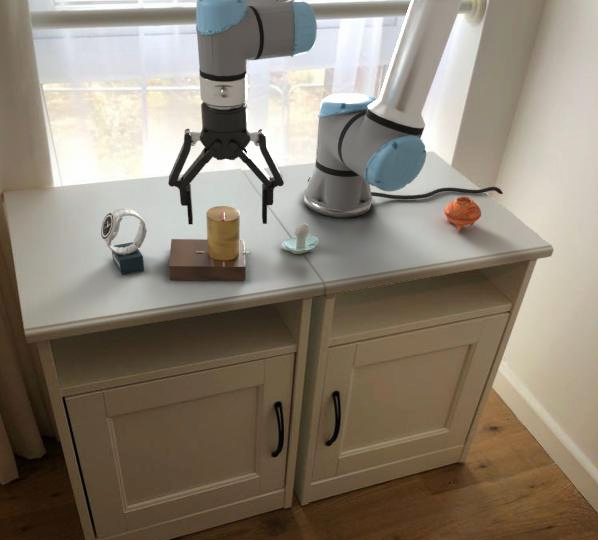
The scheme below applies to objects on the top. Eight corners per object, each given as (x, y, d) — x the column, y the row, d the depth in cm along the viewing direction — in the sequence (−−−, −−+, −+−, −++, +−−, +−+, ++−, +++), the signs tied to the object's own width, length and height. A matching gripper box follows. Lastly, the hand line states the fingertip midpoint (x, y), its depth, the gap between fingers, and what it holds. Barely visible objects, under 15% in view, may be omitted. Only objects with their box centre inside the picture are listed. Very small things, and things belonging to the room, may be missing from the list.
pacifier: (274, 246, 135) (289, 259, 131) (275, 217, 131) (290, 230, 127) (306, 239, 138) (320, 252, 134) (307, 211, 133) (323, 223, 130)
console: (249, 253, 132) (249, 238, 130) (251, 281, 124) (251, 266, 122) (172, 252, 130) (171, 237, 128) (169, 280, 122) (168, 265, 120)
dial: (207, 244, 127) (206, 203, 122) (239, 244, 128) (239, 204, 122) (207, 260, 123) (206, 219, 117) (239, 260, 123) (240, 220, 118)
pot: (480, 236, 143) (481, 207, 138) (443, 238, 145) (442, 209, 140) (481, 218, 148) (481, 189, 144) (445, 220, 151) (444, 192, 146)
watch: (102, 262, 125) (94, 208, 118) (144, 254, 129) (138, 201, 121) (111, 277, 122) (103, 222, 115) (153, 268, 125) (148, 215, 118)
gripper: (144, 109, 104) (158, 231, 119) (301, 111, 107) (296, 230, 121) (148, 93, 110) (160, 211, 124) (297, 95, 112) (292, 210, 127)
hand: (227, 220), depth 123 cm, fingers open, 13 cm apart
